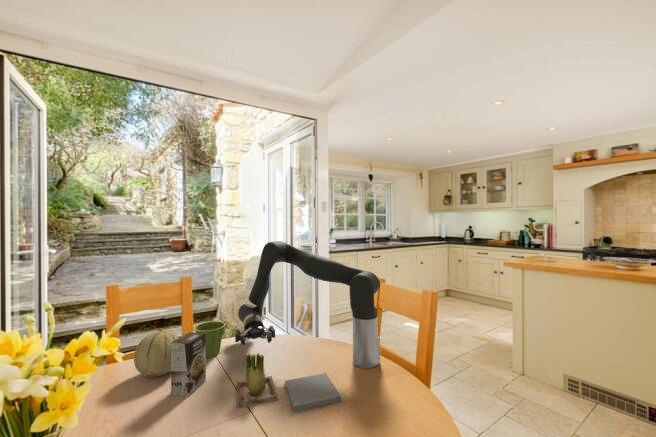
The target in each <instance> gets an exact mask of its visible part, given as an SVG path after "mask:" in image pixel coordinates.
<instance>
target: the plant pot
mask: <svg viewBox="0 0 656 437" xmlns="http://www.w3.org/2000/svg"><path fill="white" fill-rule="evenodd" d="M225 327H226V322H224V321H219V320H217V321H216V320H215V321H205V322H201V323H199V324H196V325H195V326H194V327H193V330H194V331H195V333H206V358H212V357H216V356H217V355H218V354H220V352H221V346H222V340H223V333H224V329H225Z"/></svg>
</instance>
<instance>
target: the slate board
mask: <svg viewBox="0 0 656 437" xmlns="http://www.w3.org/2000/svg"><path fill="white" fill-rule="evenodd" d="M284 387H285V389H286V393H287V395H288V399H289V401H290V404H291V407H292V410H293V412H298V411H302V410H307V409H312V408H316V407H321V406H326V405H329V404H330V405H331V404H334V403H339V402H342V396H341V394H340V392H339V391H338V389H337V388H336V386H335V384H334V383H333V381H332V380H331V378H330V377H329V375H328V374H327V372H325V373H320V374H319V373H318V374H313V375H308V376H302V377H297V378H292V379H291V378H290V379H286V380H284Z"/></svg>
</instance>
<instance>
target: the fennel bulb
mask: <svg viewBox="0 0 656 437" xmlns="http://www.w3.org/2000/svg"><path fill="white" fill-rule="evenodd" d="M245 354H246V355H245V361H246V362H245V363H246V367H245V368H246V372H245V377H246V378H245V381H246V380H247V389H248V392H249V394H250V395H251V396H254V397H256V396H259V395H261V394H262V393H263V392H264V391H266V390H265V389H266V384H267V382H265V377H266V375H265V368H264V367H265V366H264V364H265V363H264V361H265V355H264V354H260V353H258V352H257V353H256V354H255V353H252V354H251V353H245Z"/></svg>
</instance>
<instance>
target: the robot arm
mask: <svg viewBox="0 0 656 437" xmlns="http://www.w3.org/2000/svg"><path fill="white" fill-rule="evenodd" d="M277 263H287V264H290V265H293V266H296V267H297V268H298V269H299V270H300V271H302V273H304V274H305V275H307V276H309V277H311V278H314V279H316V280H319V281H323V282H327V283H329V282H330V283H336V284H337V283H338V284H343V285H346V286H348V287H349V305H350V309H351V313H352V314H351V315H352V316H351V317H352V363H353V365H354V366H356V367H358V368H361V369H373V368H375V367H377V366H378V365H381V339H380V336H379V334H378V332H379V330H378V321H379V320H378V308H377V307H375V306H376V305H375V294H376V293H377V292H378V291H379V290H380V287H381V282H380V279H379V277H378V276H377V275H376V274H375V273H373V271H369V270H364V269H359V268H355V267H352V266H348V265H345V264H343V263H341V262H339V261H336V260H333V259H330V258H328V257H326V256H323V255H320V254H317V253H313V252H310V251H306V250H303V249H301V248H297V247H295V246H293V245H291V244H290V243H287V242H285V241H282V240H280V241H279V240H277V241H269V242H267V243H266V244H264V246H263V249H262V250H261V255H260V260H259V263H258V268H257V272H256V276H255V280H254V283H253V285H252V288H251V291H250V293H249V296H248V302H250V303H251V304H248V303H244V304H242V305H240V307H239V309H238V314H237V315H238V318H239V320H240V321H241V322H242V324H243V327H242V328H243V330H242V331H241V330H240V329H235V336H234V338H235V343H239V342H240V345H242V346H243V347H245V346H246V342H248V341H250V340H255V339H262V340H264V339H266V340H267V343H268V344H269V343H271V342H272V340H273V339H275V338H276V329H275V327H274V326H273V325H270V326H269V327H267V328H266V327H265V326H264V322H263V320H262V317H263V309H264V303H265V300H266V297H267V295H268V293H269V290H270V276H271V275H270V274H271V271H272V269H273V267H274V265H275V264H277Z"/></svg>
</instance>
